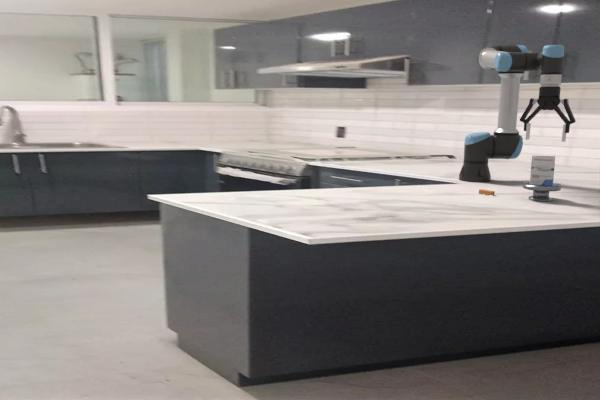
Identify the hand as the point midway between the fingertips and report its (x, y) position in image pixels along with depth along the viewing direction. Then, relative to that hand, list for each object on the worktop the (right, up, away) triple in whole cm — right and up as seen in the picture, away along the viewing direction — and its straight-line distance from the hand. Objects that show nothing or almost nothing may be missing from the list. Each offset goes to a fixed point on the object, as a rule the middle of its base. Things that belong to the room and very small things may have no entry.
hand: (545, 140), depth 213 cm
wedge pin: (-18, -22, +15) cm, 32 cm away
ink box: (0, -18, +3) cm, 18 cm away
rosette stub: (0, -23, +4) cm, 24 cm away
